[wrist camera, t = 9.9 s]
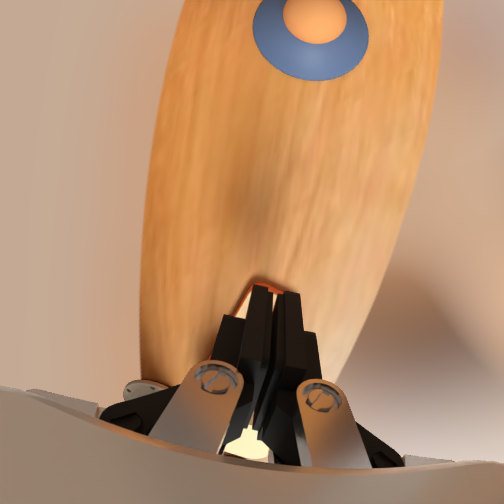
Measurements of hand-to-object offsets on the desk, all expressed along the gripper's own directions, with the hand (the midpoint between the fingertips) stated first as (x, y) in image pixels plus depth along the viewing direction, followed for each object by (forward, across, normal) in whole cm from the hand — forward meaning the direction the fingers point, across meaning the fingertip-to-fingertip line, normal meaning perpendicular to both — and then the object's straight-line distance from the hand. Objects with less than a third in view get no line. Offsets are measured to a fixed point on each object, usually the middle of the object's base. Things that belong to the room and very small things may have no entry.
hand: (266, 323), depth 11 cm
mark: (+22, 0, -19) cm, 30 cm away
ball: (+20, 0, -19) cm, 28 cm away
